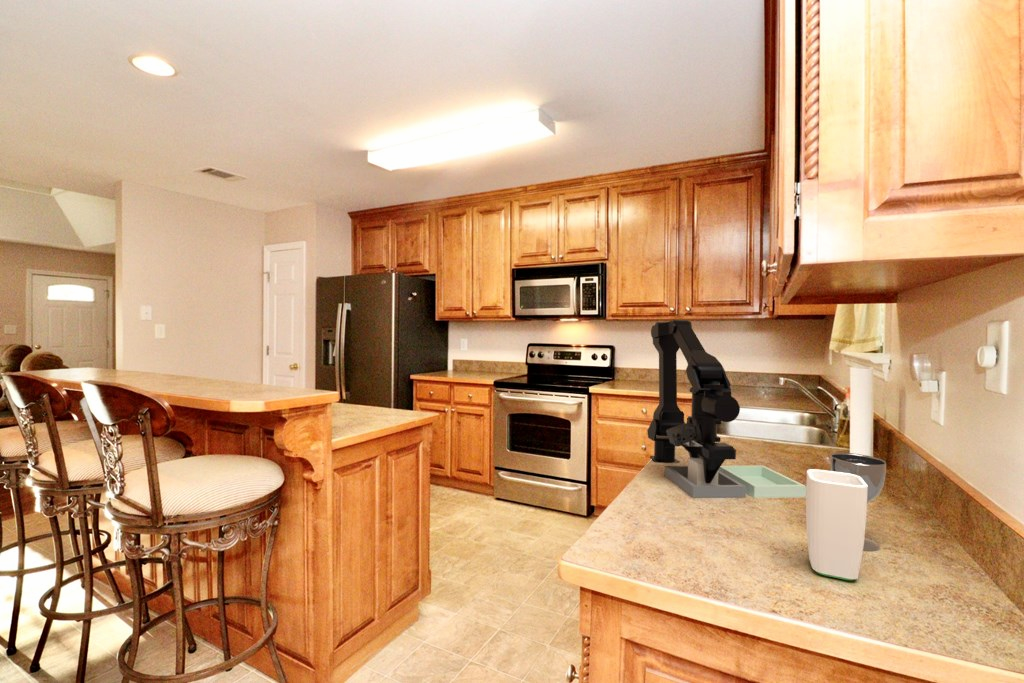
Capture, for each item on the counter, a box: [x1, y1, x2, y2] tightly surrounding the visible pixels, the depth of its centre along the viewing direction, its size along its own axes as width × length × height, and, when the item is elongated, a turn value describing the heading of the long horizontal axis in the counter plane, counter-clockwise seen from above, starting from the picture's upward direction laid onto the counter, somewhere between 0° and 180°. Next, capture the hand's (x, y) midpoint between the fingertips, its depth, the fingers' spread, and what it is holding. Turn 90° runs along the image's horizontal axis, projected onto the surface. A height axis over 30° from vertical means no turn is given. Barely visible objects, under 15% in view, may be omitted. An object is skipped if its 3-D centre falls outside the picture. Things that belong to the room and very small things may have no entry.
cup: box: [805, 468, 868, 581], centre depth 74 cm, size 7×7×15 cm
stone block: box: [687, 457, 718, 485], centre depth 113 cm, size 5×5×6 cm
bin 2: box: [719, 464, 806, 499], centre depth 114 cm, size 16×12×3 cm
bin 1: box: [664, 465, 747, 499], centre depth 113 cm, size 16×12×3 cm
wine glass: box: [830, 452, 887, 552], centre depth 85 cm, size 8×8×15 cm
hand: (702, 479), depth 113 cm, fingers closed on stone block, 5 cm apart
